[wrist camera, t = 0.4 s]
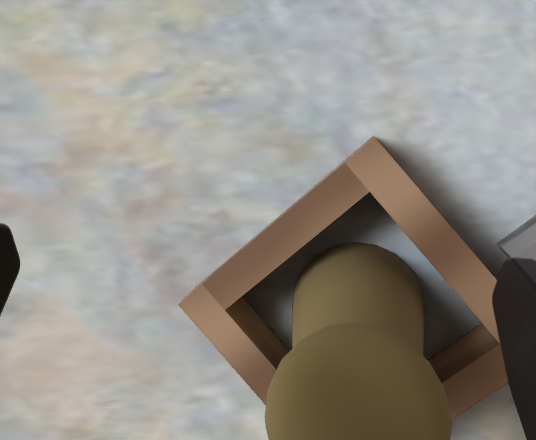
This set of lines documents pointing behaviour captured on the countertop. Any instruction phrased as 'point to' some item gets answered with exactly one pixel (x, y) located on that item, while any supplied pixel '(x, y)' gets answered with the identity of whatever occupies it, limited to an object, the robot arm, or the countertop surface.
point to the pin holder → (312, 223)
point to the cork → (357, 354)
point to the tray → (521, 241)
